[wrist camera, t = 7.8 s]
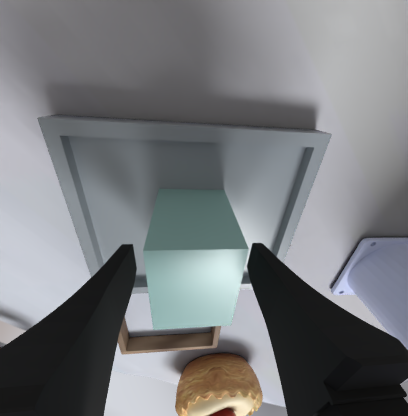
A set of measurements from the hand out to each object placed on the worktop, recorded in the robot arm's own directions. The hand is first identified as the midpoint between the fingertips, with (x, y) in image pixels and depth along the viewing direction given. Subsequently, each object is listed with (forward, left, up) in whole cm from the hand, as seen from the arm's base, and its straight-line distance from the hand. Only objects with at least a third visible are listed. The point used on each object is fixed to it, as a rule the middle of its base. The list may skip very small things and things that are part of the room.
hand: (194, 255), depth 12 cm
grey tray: (0, 0, -4) cm, 4 cm away
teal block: (0, 0, -3) cm, 3 cm away
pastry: (-5, +28, -5) cm, 29 cm away
